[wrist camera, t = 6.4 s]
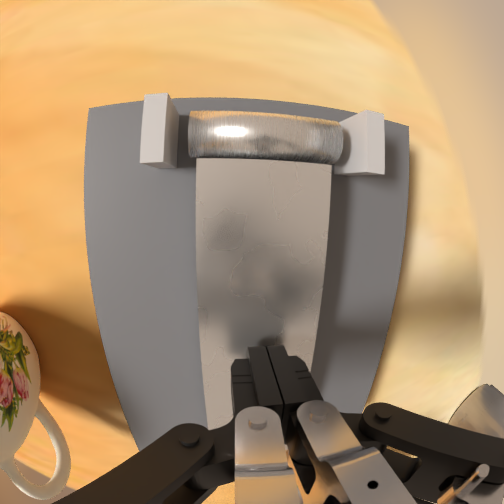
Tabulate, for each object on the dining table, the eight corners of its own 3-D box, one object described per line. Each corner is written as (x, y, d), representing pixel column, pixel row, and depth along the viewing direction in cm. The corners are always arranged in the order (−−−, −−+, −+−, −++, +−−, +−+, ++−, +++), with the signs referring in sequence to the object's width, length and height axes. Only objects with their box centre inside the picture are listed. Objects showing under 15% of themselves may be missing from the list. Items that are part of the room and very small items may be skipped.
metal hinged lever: (325, 125, 11) (343, 117, 9) (293, 434, 15) (299, 454, 13) (193, 117, 10) (189, 105, 8) (206, 440, 14) (206, 461, 13)
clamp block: (372, 135, 16) (445, 118, 9) (334, 409, 21) (364, 466, 14) (116, 124, 14) (58, 91, 7) (147, 418, 19) (134, 483, 12)
